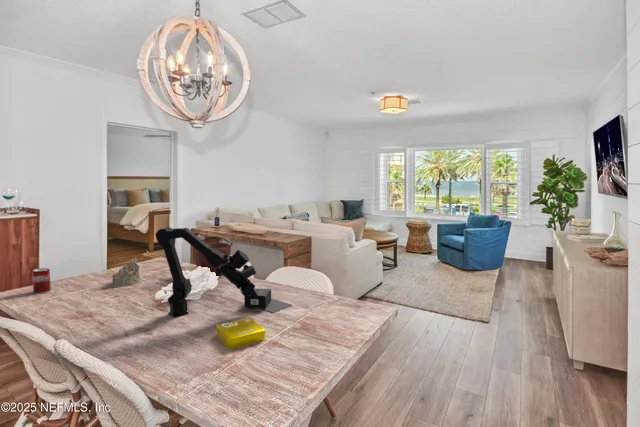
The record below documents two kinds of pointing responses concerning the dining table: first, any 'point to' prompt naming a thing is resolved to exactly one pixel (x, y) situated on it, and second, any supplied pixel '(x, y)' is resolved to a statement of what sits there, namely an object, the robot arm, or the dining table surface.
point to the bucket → (221, 247)
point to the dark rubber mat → (276, 305)
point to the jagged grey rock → (127, 275)
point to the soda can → (41, 280)
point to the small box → (258, 299)
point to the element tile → (240, 333)
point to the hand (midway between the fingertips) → (256, 295)
